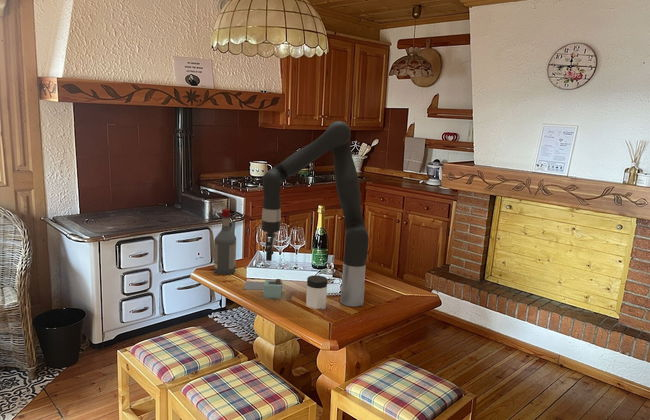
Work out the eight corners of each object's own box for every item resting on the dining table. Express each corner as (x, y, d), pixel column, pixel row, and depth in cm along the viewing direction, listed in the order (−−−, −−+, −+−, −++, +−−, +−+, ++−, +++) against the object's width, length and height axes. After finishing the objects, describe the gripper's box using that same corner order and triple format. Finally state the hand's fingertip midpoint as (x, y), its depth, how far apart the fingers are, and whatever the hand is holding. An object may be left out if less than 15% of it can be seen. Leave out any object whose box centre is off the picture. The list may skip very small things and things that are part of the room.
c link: (263, 297, 202) (263, 285, 201) (264, 292, 208) (265, 279, 206) (280, 298, 202) (281, 286, 201) (281, 292, 208) (282, 280, 207)
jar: (311, 312, 193) (313, 283, 190) (301, 304, 200) (302, 277, 197) (330, 308, 198) (332, 280, 195) (319, 301, 205) (321, 273, 202)
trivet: (266, 284, 219) (266, 282, 218) (264, 292, 210) (264, 289, 210) (246, 283, 218) (246, 281, 218) (243, 291, 210) (243, 288, 209)
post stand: (292, 294, 210) (293, 276, 208) (291, 302, 201) (292, 284, 199) (264, 292, 209) (264, 275, 208) (261, 301, 201) (262, 282, 199)
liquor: (236, 268, 236) (237, 208, 230) (232, 275, 227) (234, 212, 221) (217, 267, 236) (218, 207, 229) (213, 274, 227) (213, 211, 221)
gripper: (279, 223, 191) (277, 263, 194) (281, 215, 205) (280, 252, 208) (259, 222, 191) (258, 262, 194) (263, 214, 205) (262, 251, 208)
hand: (269, 257), depth 201 cm, fingers open, 8 cm apart
